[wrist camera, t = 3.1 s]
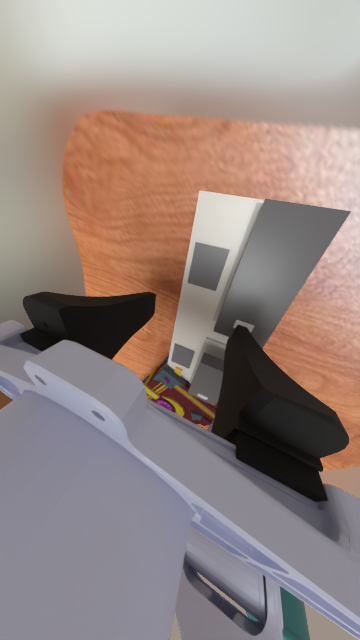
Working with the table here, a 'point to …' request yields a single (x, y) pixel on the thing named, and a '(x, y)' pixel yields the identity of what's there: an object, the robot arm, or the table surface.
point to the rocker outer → (276, 265)
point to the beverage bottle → (291, 617)
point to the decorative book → (177, 396)
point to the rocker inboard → (208, 379)
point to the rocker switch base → (209, 277)
